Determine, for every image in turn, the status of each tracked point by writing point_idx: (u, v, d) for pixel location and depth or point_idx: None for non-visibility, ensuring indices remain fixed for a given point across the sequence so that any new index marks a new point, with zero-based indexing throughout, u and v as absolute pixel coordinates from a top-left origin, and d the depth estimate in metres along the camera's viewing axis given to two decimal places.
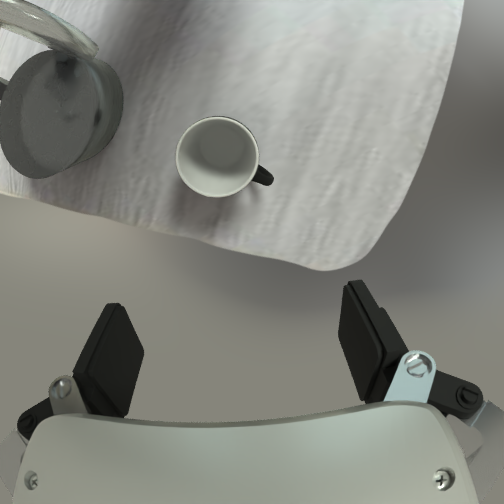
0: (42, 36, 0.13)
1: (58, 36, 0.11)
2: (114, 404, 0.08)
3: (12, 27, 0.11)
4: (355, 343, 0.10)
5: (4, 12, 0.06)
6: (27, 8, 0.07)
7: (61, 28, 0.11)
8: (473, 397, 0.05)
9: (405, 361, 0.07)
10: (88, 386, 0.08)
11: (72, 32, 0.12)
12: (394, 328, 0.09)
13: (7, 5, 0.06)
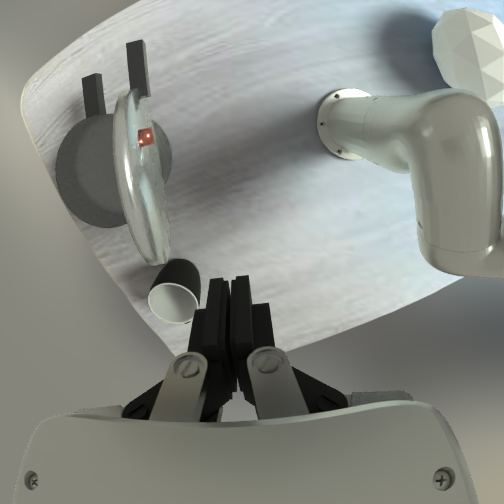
0: None
1: None
2: (231, 379, 0.09)
3: None
4: None
5: (141, 253, 0.22)
6: (154, 260, 0.24)
7: None
8: (330, 406, 0.07)
9: (258, 355, 0.08)
10: (213, 361, 0.09)
11: None
12: (270, 323, 0.10)
13: (146, 253, 0.22)
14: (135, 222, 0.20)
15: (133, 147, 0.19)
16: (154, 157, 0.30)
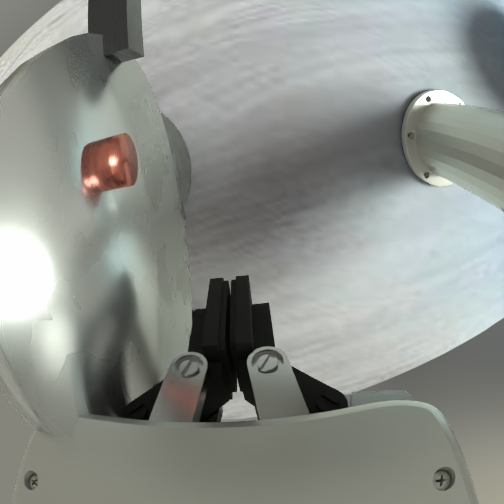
0: None
1: None
2: (231, 379, 0.09)
3: None
4: None
5: None
6: None
7: None
8: (330, 406, 0.07)
9: (258, 355, 0.08)
10: (213, 361, 0.09)
11: None
12: (270, 323, 0.10)
13: None
14: None
15: (34, 228, 0.04)
16: (160, 189, 0.15)
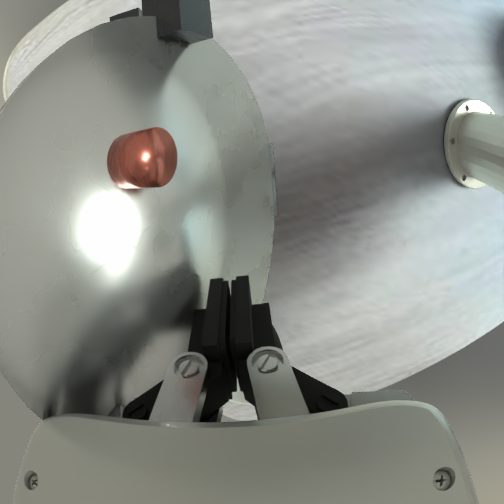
0: None
1: None
2: (231, 379, 0.09)
3: None
4: None
5: None
6: None
7: None
8: (330, 406, 0.07)
9: (258, 355, 0.08)
10: (213, 361, 0.09)
11: None
12: (270, 323, 0.10)
13: None
14: None
15: (30, 227, 0.05)
16: (242, 183, 0.14)
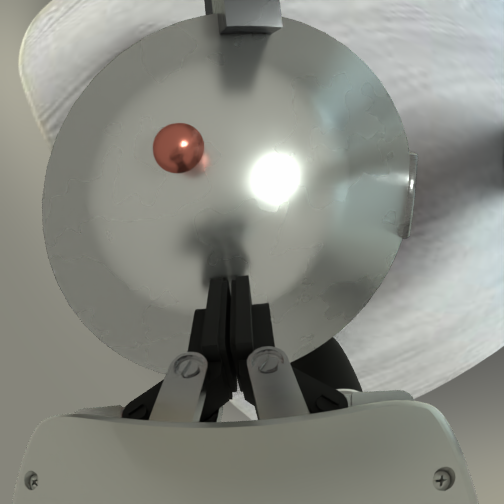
0: None
1: None
2: (231, 379, 0.09)
3: None
4: None
5: None
6: None
7: None
8: (330, 406, 0.07)
9: (258, 355, 0.08)
10: (213, 361, 0.09)
11: None
12: (270, 323, 0.10)
13: None
14: None
15: (84, 182, 0.08)
16: (348, 187, 0.12)
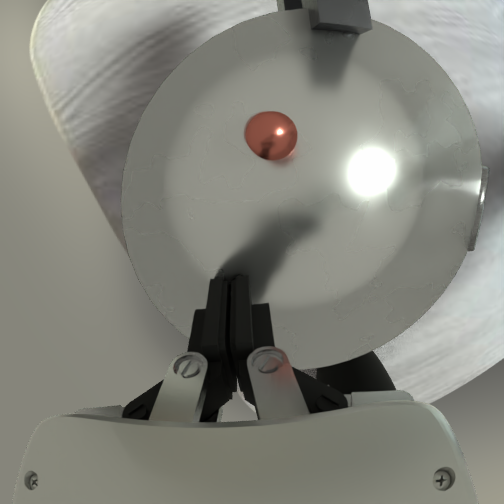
0: None
1: None
2: (231, 379, 0.09)
3: None
4: None
5: None
6: None
7: None
8: (330, 406, 0.07)
9: (258, 355, 0.08)
10: (213, 361, 0.09)
11: None
12: (270, 323, 0.10)
13: None
14: None
15: (170, 159, 0.09)
16: (424, 193, 0.11)
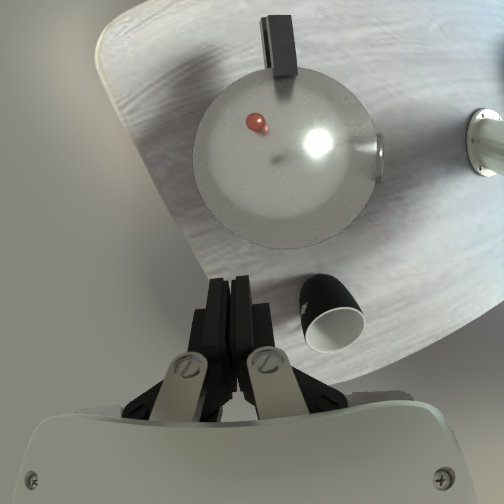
0: None
1: None
2: (231, 379, 0.09)
3: None
4: None
5: None
6: None
7: None
8: (330, 406, 0.07)
9: (258, 355, 0.08)
10: (213, 361, 0.09)
11: None
12: (270, 323, 0.10)
13: None
14: None
15: (216, 130, 0.23)
16: (335, 147, 0.24)
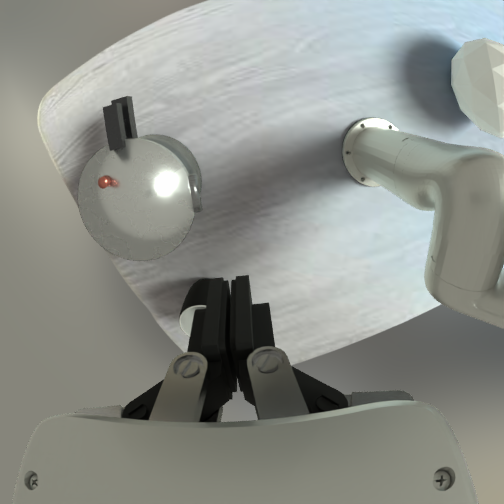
0: None
1: None
2: (231, 379, 0.09)
3: None
4: None
5: None
6: None
7: None
8: (330, 406, 0.07)
9: (258, 355, 0.08)
10: (213, 361, 0.09)
11: None
12: (270, 323, 0.10)
13: None
14: None
15: (87, 188, 0.35)
16: (157, 191, 0.36)
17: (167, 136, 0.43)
